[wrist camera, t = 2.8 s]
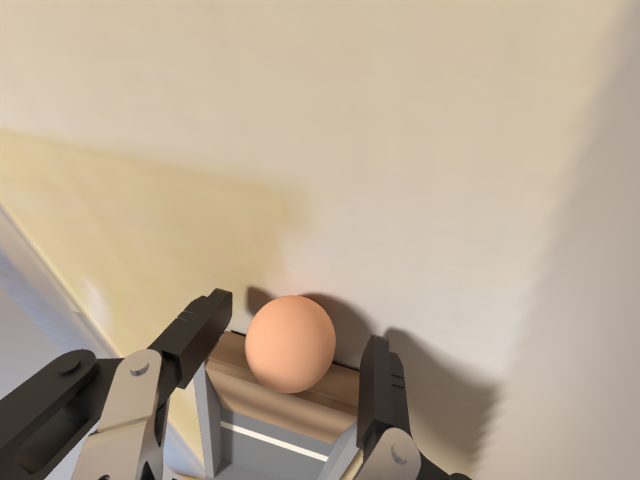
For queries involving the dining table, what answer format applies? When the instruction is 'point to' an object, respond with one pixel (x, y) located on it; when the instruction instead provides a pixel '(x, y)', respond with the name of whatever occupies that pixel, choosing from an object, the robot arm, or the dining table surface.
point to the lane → (263, 444)
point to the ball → (290, 344)
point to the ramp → (284, 394)
